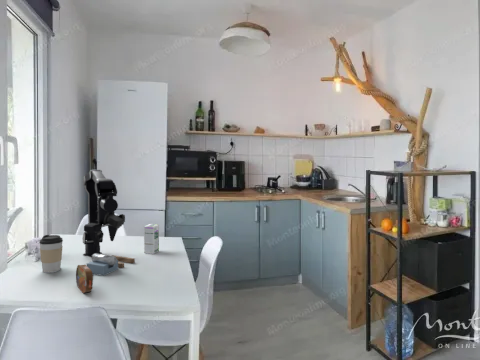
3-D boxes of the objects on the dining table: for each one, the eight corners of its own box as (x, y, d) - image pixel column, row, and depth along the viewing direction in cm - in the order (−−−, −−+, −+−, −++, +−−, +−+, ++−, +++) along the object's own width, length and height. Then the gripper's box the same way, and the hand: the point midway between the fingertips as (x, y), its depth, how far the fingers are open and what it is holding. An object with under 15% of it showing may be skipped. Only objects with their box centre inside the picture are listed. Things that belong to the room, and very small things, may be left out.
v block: (86, 272, 147) (86, 263, 146) (101, 266, 155) (101, 257, 155) (103, 275, 144) (103, 266, 143) (118, 269, 152) (118, 260, 152)
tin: (75, 283, 134) (75, 262, 134) (83, 281, 136) (83, 261, 136) (85, 296, 123) (85, 273, 122) (94, 294, 124) (94, 271, 124)
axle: (91, 263, 149) (91, 254, 148) (98, 260, 153) (98, 251, 152) (110, 266, 146) (110, 257, 145) (116, 263, 149) (116, 254, 149)
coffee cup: (68, 268, 152) (67, 234, 151) (50, 274, 143) (50, 239, 142) (52, 265, 155) (52, 232, 154) (34, 271, 146) (33, 237, 145)
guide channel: (98, 264, 158) (98, 260, 157) (112, 259, 166) (112, 255, 166) (122, 268, 153) (122, 263, 153) (134, 262, 162) (134, 258, 162)
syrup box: (154, 254, 176) (154, 226, 175) (143, 253, 177) (143, 225, 176) (159, 251, 182) (159, 224, 181) (148, 250, 183) (148, 223, 182)
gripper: (104, 213, 138) (104, 251, 139) (133, 207, 155) (133, 240, 157) (82, 211, 142) (82, 248, 143) (113, 205, 159) (113, 238, 160)
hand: (104, 243), depth 151 cm, fingers open, 9 cm apart
